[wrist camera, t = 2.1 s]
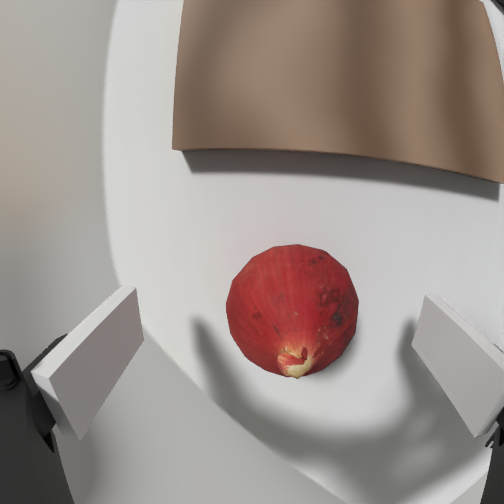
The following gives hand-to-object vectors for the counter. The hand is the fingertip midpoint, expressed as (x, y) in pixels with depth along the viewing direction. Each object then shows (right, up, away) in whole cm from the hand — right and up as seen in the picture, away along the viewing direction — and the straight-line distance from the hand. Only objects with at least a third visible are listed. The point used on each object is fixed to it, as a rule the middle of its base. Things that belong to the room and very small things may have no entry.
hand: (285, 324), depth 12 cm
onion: (+1, +2, +5) cm, 5 cm away
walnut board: (+5, +15, 0) cm, 16 cm away
